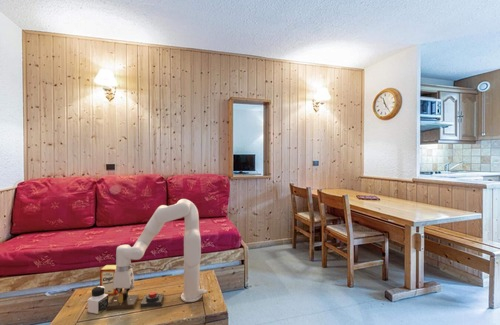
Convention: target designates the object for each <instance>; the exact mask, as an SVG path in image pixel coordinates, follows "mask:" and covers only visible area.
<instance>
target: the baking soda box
mask: <svg viewBox="0 0 500 325" xmlns="http://www.w3.org/2000/svg"><path fill="white" fill-rule="evenodd" d="M115 270H116V264H106V265H104V266H102V267H101V268H100V269H99V286H103V287H105V294H108V296H117V295H118V294H119V293H118V291H117V290H116V289H114V288H113V280H114V273H115Z"/></svg>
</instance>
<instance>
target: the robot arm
mask: <svg viewBox="0 0 500 325" xmlns="http://www.w3.org/2000/svg"><path fill="white" fill-rule="evenodd" d="M199 216H200V215H199V209H198V208H197V205H196V204H195V203H193V201H191V200H189V199H187V198H181V199H179V200H178V201H177V202H176V203H174V204H171V205H166V204H161V205H159V206H158V207H157V208H156V209H155V211H154V213H153V214H152V216H151V217H150V218H149V220H148V221H147V223H146V225H145V226H144V228H143V230H142V232H141V234H140V235H139V237H138V238H137V240H136V241H135V243H134V244H133V246H131V245H130V244H121V245H118V246H117V247H116V251H115V253H116V254H115V265H116V270H115V273H114V280H113V288H114V289H116V290H117V291H118V293H117V294H119V293H120V292H122V291H123V290H124V294H123V301H125V300H126V299H127V298H128V295H129V291H132V290H134V289H135V286H134V284H135V277H134V276H135V275H134V270H133V267H134V265H132V260H133V261H136V260H137V261H138V260H141V259H142V258H143V257H144V256H145V252H146V250H147V249H148V247H149V246H150V244H151V242H152V241H153V240H154V238H156V236H157V235H159V233H160V232H161V230H162V229H163V227H164V225H165V224H166V223H168V222H171V221H175V220H178V219H182V218H184V232H183V233H184V234H183V291H182V293H181V294H180V300H181V301H183V302H184V303H194V302H197V301H199V300H201V299H202V297H203V295H206V294H208V290H207V289H206V288H201V285H200V282H201V259H202V237H201V233H200V217H199Z"/></svg>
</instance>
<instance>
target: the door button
mask: <svg viewBox="0 0 500 325" xmlns="http://www.w3.org/2000/svg"><path fill="white" fill-rule="evenodd" d="M156 293H157V292H156V291H151V292H149V293H148V294H149V297H151V298H152V297H155V296H156Z"/></svg>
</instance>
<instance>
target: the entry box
mask: <svg viewBox="0 0 500 325" xmlns="http://www.w3.org/2000/svg"><path fill="white" fill-rule="evenodd" d="M164 297H165V294H164V293H158V292H156V296H155V297H152V298H151V297H149V293H148V294H144V295H143V298H142V300H141V302H140V308H153V307H162V304H163V301H164Z"/></svg>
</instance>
